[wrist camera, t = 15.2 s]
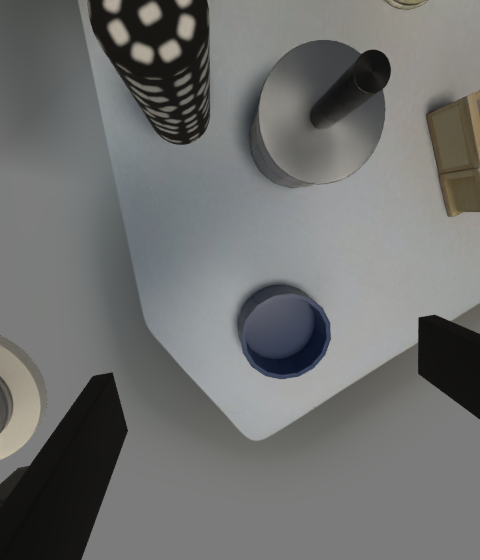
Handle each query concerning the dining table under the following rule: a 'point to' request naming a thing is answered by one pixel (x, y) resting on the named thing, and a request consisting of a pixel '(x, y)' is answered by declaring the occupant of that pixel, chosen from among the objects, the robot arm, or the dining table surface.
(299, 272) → the dining table surface
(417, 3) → the coffee can
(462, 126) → the toy kitchen set
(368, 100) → the lid
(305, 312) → the pan
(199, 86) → the white-spotted black cylinder
